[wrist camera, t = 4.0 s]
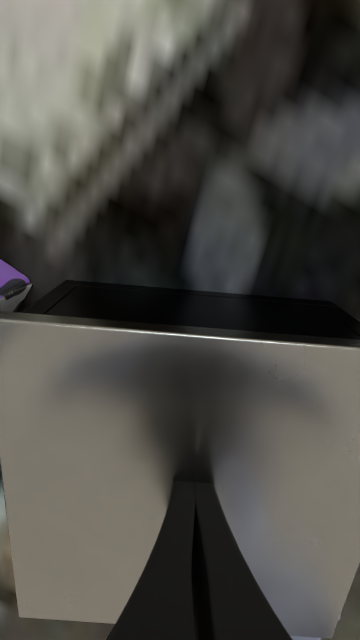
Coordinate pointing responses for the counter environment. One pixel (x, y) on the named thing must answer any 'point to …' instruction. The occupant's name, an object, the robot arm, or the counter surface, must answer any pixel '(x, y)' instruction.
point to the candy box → (12, 288)
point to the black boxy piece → (197, 309)
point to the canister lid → (177, 458)
